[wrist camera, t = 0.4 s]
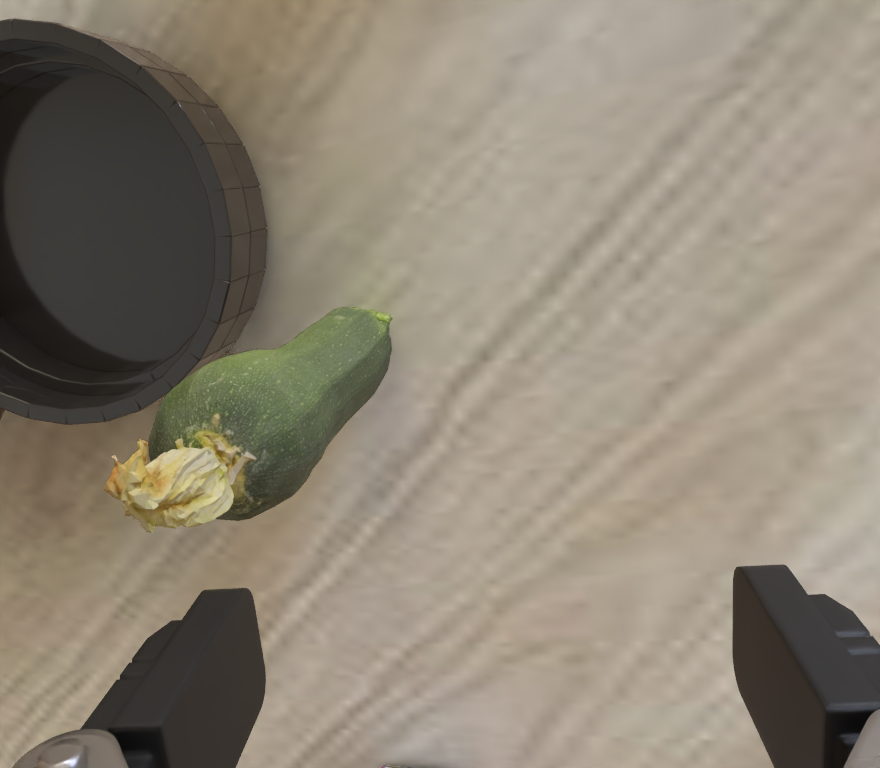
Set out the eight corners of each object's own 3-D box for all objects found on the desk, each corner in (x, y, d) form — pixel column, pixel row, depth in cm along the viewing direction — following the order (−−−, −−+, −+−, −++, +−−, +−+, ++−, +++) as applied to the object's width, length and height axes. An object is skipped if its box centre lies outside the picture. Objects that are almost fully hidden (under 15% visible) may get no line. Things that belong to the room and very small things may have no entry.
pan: (18, -38, 33) (-64, -68, 29) (335, 167, 33) (302, 169, 29) (-103, 278, 37) (-188, 293, 33) (178, 455, 38) (129, 492, 34)
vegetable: (385, 399, 36) (185, 674, 17) (295, 364, 36) (-6, 596, 17) (418, 307, 34) (241, 491, 15) (324, 271, 34) (34, 408, 15)
